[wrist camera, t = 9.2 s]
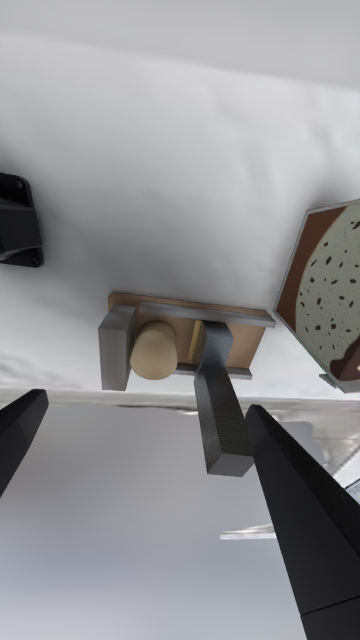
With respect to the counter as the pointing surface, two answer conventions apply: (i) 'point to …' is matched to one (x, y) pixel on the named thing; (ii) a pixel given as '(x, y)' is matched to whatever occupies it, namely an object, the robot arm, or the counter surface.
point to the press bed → (186, 322)
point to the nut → (154, 351)
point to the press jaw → (219, 404)
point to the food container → (326, 292)
